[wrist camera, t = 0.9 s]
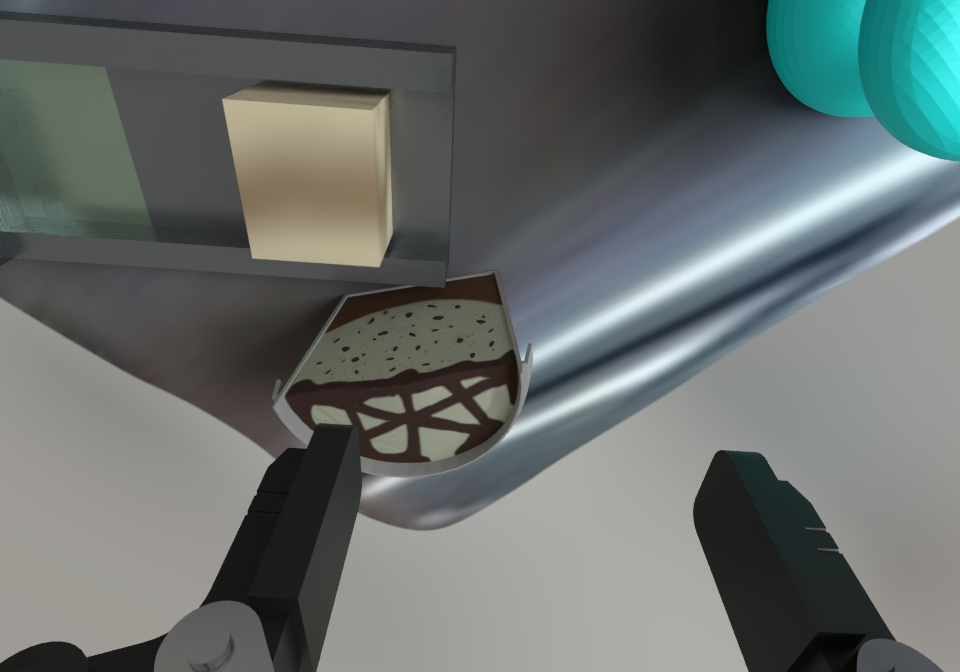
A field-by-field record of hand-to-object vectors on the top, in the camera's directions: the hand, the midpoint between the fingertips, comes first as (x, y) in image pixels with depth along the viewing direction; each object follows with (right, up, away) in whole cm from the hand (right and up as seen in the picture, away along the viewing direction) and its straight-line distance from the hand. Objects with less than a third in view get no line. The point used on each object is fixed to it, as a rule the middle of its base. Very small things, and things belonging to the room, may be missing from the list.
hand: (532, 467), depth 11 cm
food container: (-4, +4, +22) cm, 23 cm away
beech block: (-8, +11, +16) cm, 21 cm away
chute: (-14, +12, +16) cm, 25 cm away
